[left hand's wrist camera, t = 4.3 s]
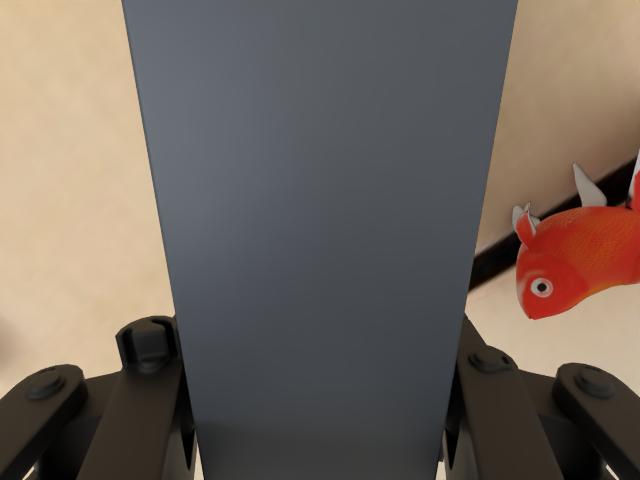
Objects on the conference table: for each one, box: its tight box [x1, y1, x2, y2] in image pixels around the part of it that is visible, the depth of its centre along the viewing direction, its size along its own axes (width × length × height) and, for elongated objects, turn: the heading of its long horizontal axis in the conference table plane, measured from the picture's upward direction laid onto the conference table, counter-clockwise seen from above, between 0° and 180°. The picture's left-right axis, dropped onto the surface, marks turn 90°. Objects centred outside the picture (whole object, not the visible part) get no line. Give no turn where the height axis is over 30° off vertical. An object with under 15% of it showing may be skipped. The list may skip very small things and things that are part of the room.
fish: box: [512, 150, 640, 320], centre depth 20 cm, size 11×16×10 cm
